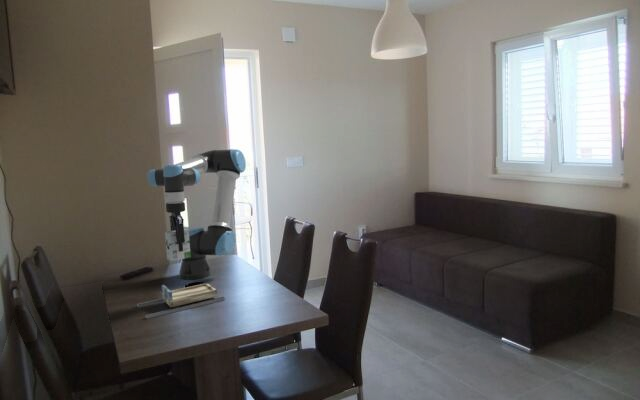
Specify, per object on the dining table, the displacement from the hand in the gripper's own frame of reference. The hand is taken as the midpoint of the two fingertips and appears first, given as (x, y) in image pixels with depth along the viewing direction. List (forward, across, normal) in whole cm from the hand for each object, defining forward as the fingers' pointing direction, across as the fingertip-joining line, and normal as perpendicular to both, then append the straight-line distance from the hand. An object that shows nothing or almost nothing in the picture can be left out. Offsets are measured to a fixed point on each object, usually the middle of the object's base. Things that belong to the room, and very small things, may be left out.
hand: (179, 257), depth 192 cm
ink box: (+1, 0, 0) cm, 1 cm away
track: (+18, +5, -2) cm, 19 cm away
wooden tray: (+18, +5, +2) cm, 19 cm away
